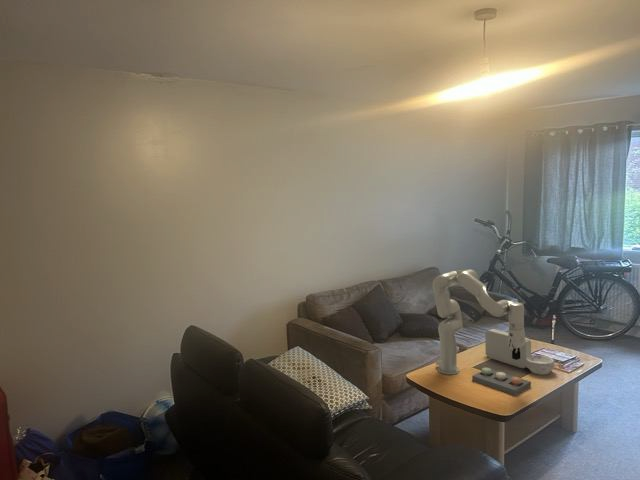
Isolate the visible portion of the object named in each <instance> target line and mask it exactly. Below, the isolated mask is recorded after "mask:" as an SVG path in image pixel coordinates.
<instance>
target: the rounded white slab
mask: <svg viewBox="0 0 640 480" xmlns="http://www.w3.org/2000/svg"><path fill="white" fill-rule="evenodd" d="M484 334H485V336H484V337H485V339H484V340H485V343H484V344H485V356H486V357H487V358H489V359H492V360H496V361H499V362H501V363H505V364H508V365H510V366H514V367H515V368H516V367H517V368H520V369H526V368H527V367H526V357H528V356H531V355H532V342H531V341H532V340H531V339H530V338H528V337H526V336H525V345H524V346H522V347H521V351H520V359H518V360H515V359H512V351H511V350H509V348H510V347H509V346H508V334H509V332H507V331H503V330H498V329H495V328H492V329H488V330H486V331H485V333H484ZM514 349H515V348H514Z"/></svg>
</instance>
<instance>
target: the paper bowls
mask: <svg viewBox="0 0 640 480" xmlns="http://www.w3.org/2000/svg"><path fill="white" fill-rule="evenodd" d="M526 368H527V369H529V371H530V372H531V373H532V374H535V375H540V376H542V375H544V376H545V375H546V376H547V375H549V374H550V372H552V371H554V370H555V369H554V368H555V361H554V359H553V358H551V357H549V356H546V355H539V354H531V356H528V357H526Z"/></svg>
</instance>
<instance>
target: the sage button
mask: <svg viewBox="0 0 640 480" xmlns="http://www.w3.org/2000/svg"><path fill="white" fill-rule="evenodd" d="M491 369H492V368H490V367H482V368H481V371H482V374H484V375H491Z"/></svg>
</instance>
